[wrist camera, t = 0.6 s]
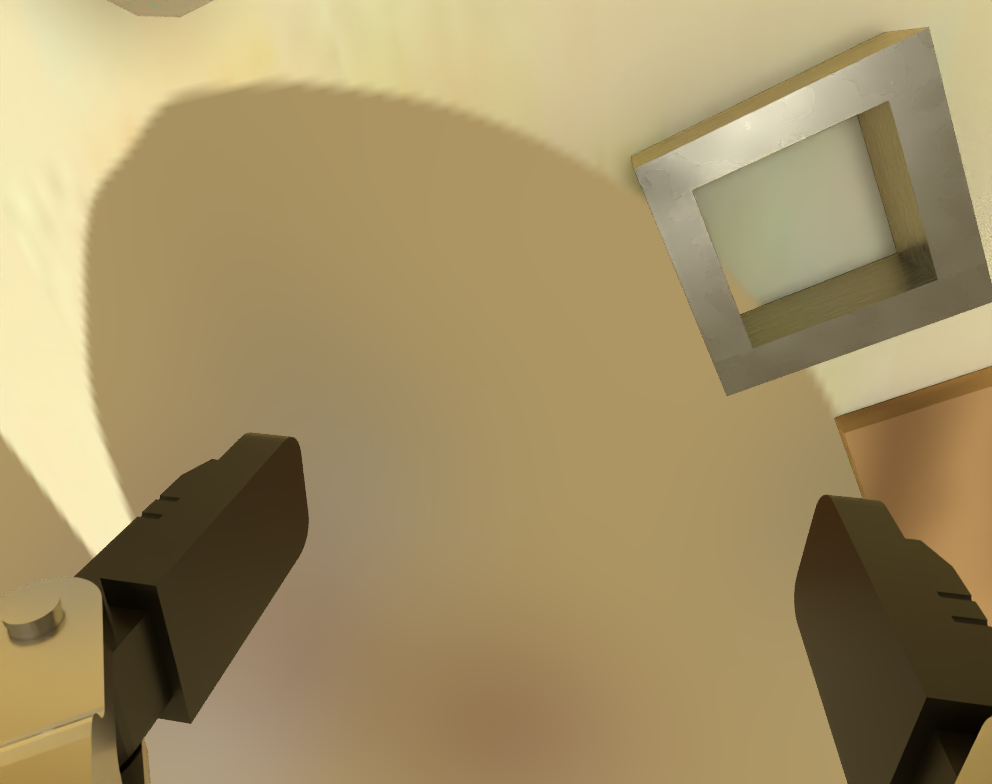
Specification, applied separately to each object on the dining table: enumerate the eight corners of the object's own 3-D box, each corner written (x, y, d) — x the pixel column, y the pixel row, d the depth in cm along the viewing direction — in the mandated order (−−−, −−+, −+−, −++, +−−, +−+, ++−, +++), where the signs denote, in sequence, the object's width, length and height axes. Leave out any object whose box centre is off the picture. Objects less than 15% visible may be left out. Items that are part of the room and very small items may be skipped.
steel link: (884, 32, 26) (928, 27, 22) (948, 271, 29) (995, 300, 25) (631, 156, 29) (633, 169, 25) (714, 359, 32) (726, 396, 28)
